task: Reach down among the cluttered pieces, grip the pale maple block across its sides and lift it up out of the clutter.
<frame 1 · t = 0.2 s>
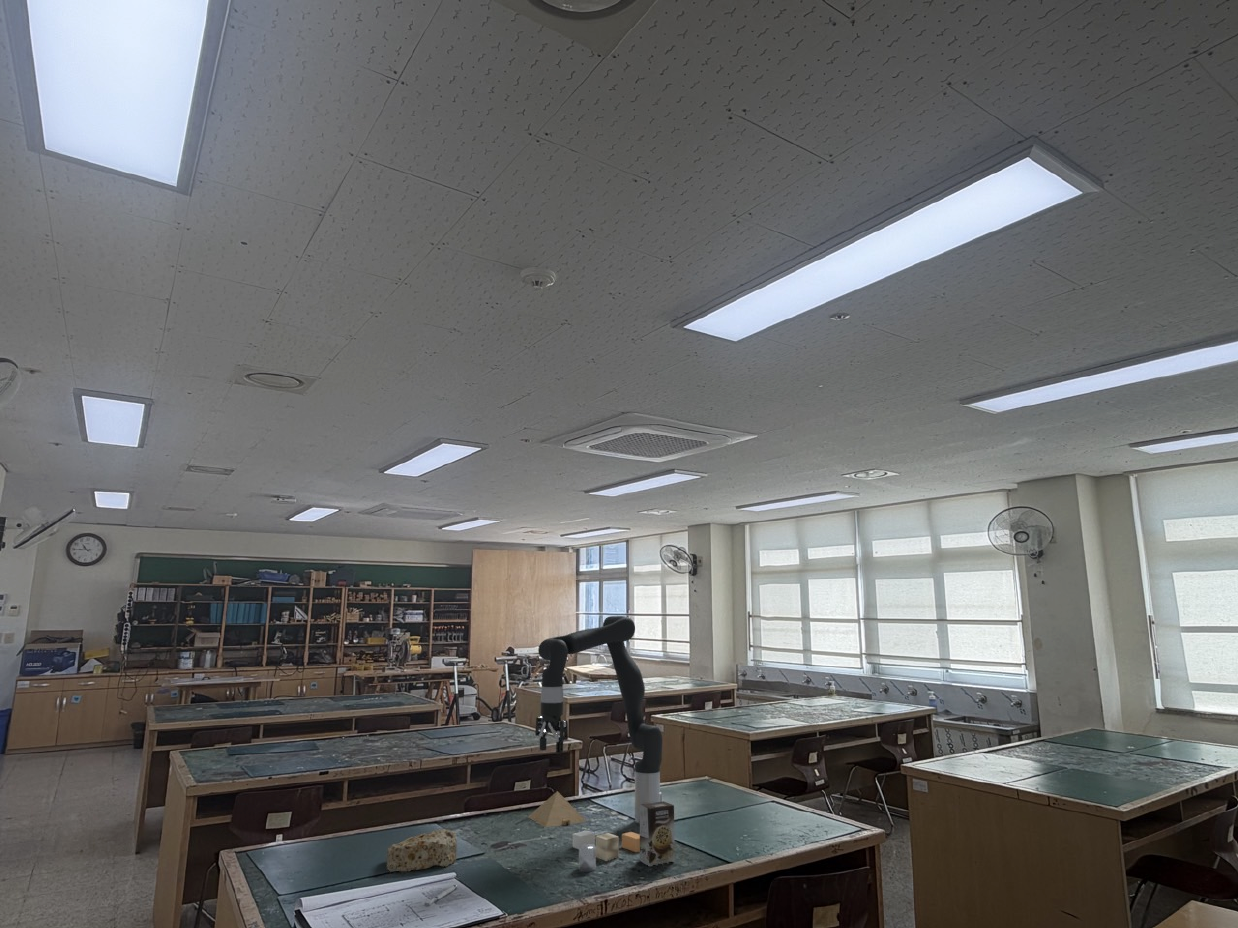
hand: (551, 751, 231), 29 cm above the table, tool pointing down, fingers open, 8 cm apart
rock: (421, 864, 210), on the table
model pyramid: (557, 820, 257), on the table
coffee box: (657, 862, 212), on the table
maple block: (607, 857, 216), on the table
off-white plastic block: (583, 846, 226), on the table
brushed metal cylinder: (587, 868, 206), on the table
orange plastic block: (633, 848, 224), on the table
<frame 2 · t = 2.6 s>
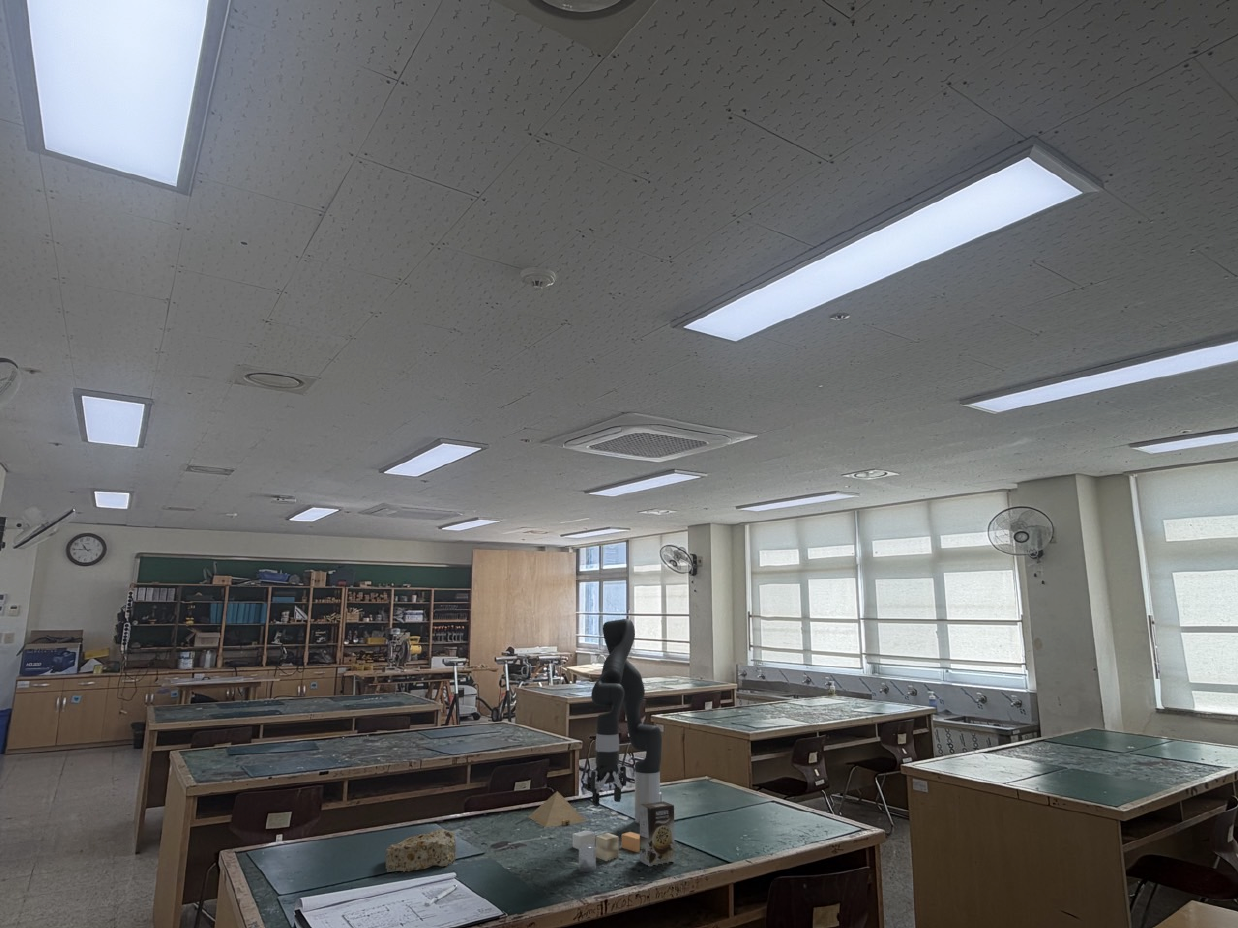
hand: (606, 803, 219), 15 cm above the table, tool pointing down, fingers open, 8 cm apart
nothing on the table moved.
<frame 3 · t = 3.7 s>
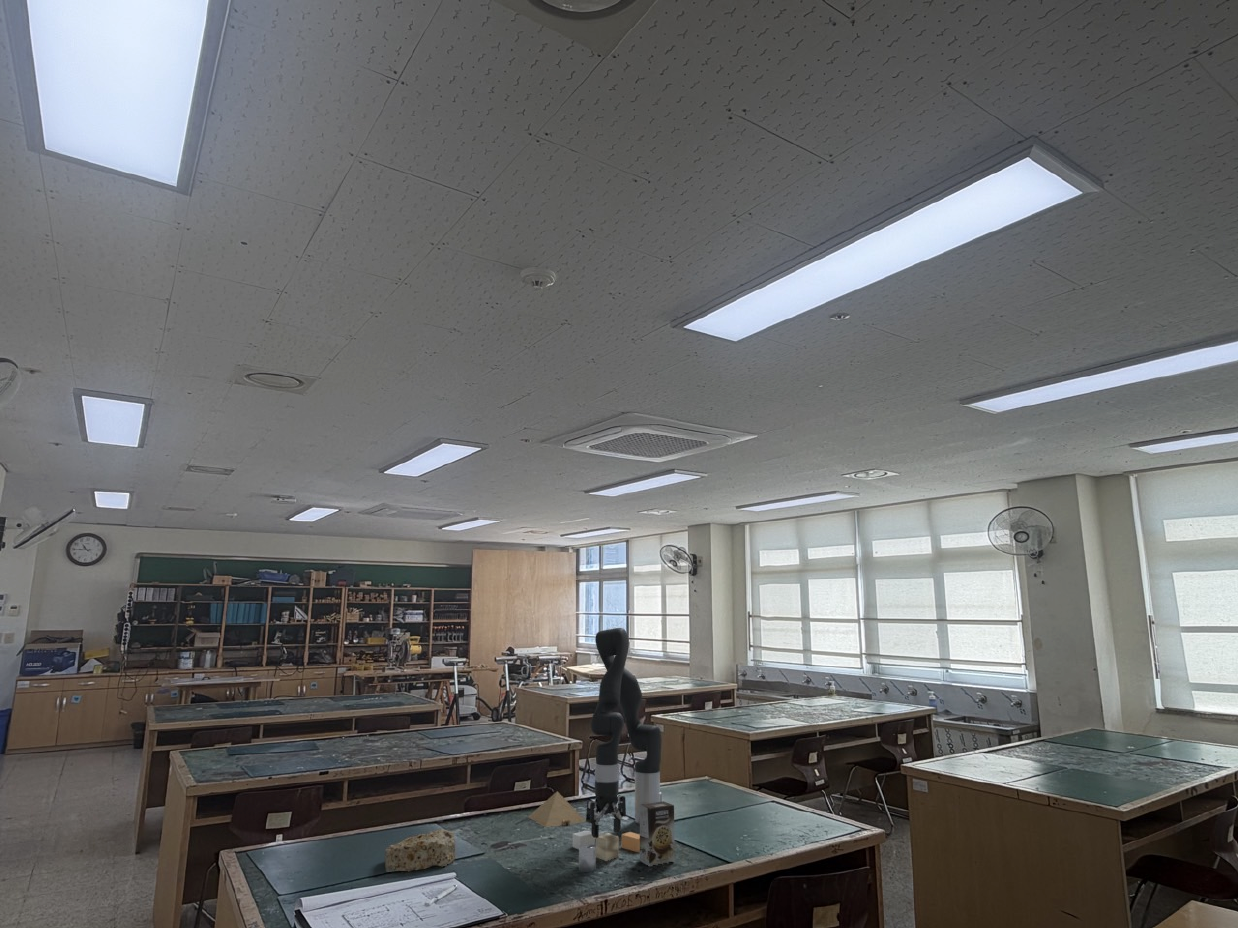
hand: (606, 834, 217), 6 cm above the table, tool pointing down, fingers open, 8 cm apart
nothing on the table moved.
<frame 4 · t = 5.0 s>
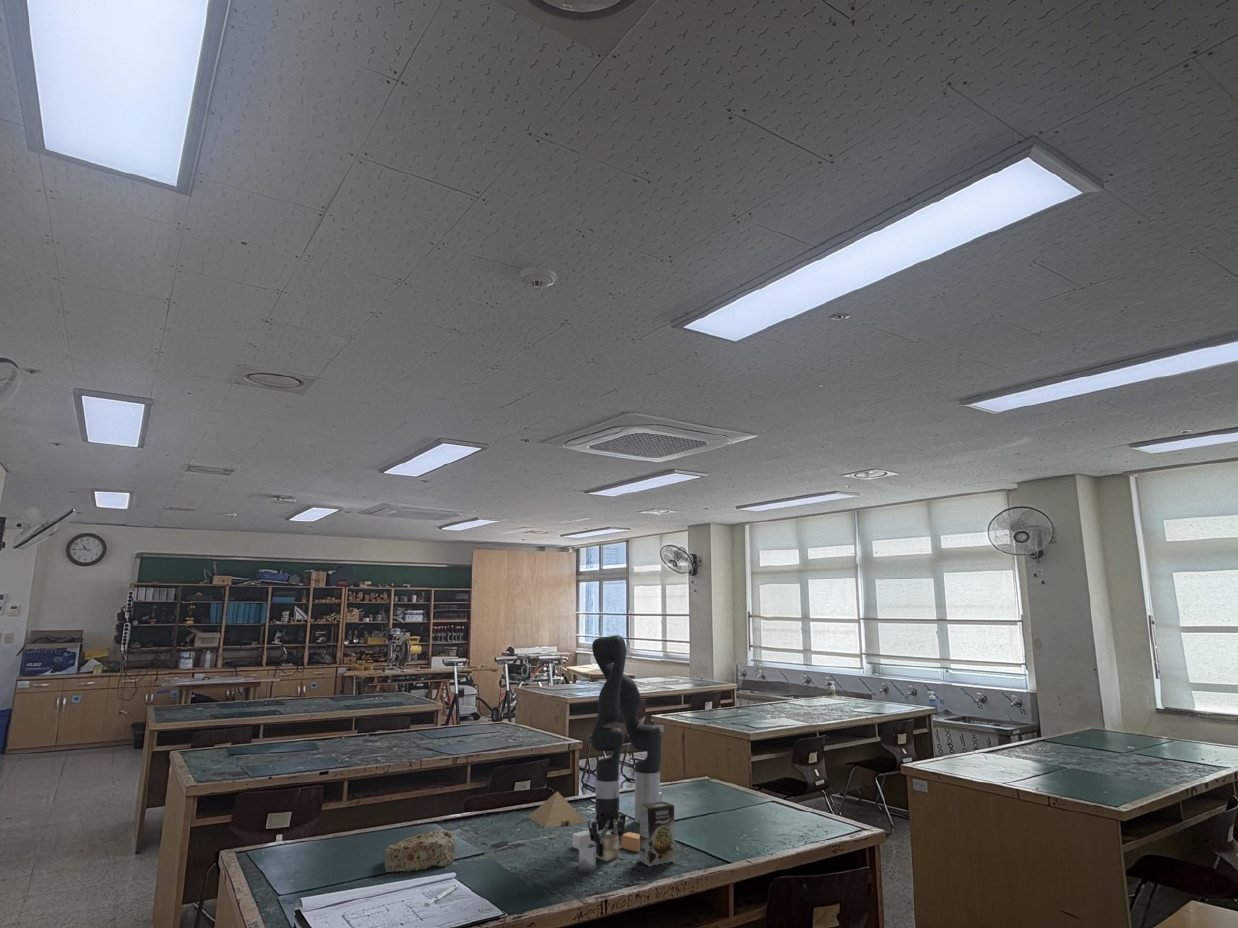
hand: (607, 853, 216), 1 cm above the table, tool pointing down, fingers closed on maple block, 5 cm apart
maple block: (607, 857, 216), on the table, touching gripper
everything else where it was.
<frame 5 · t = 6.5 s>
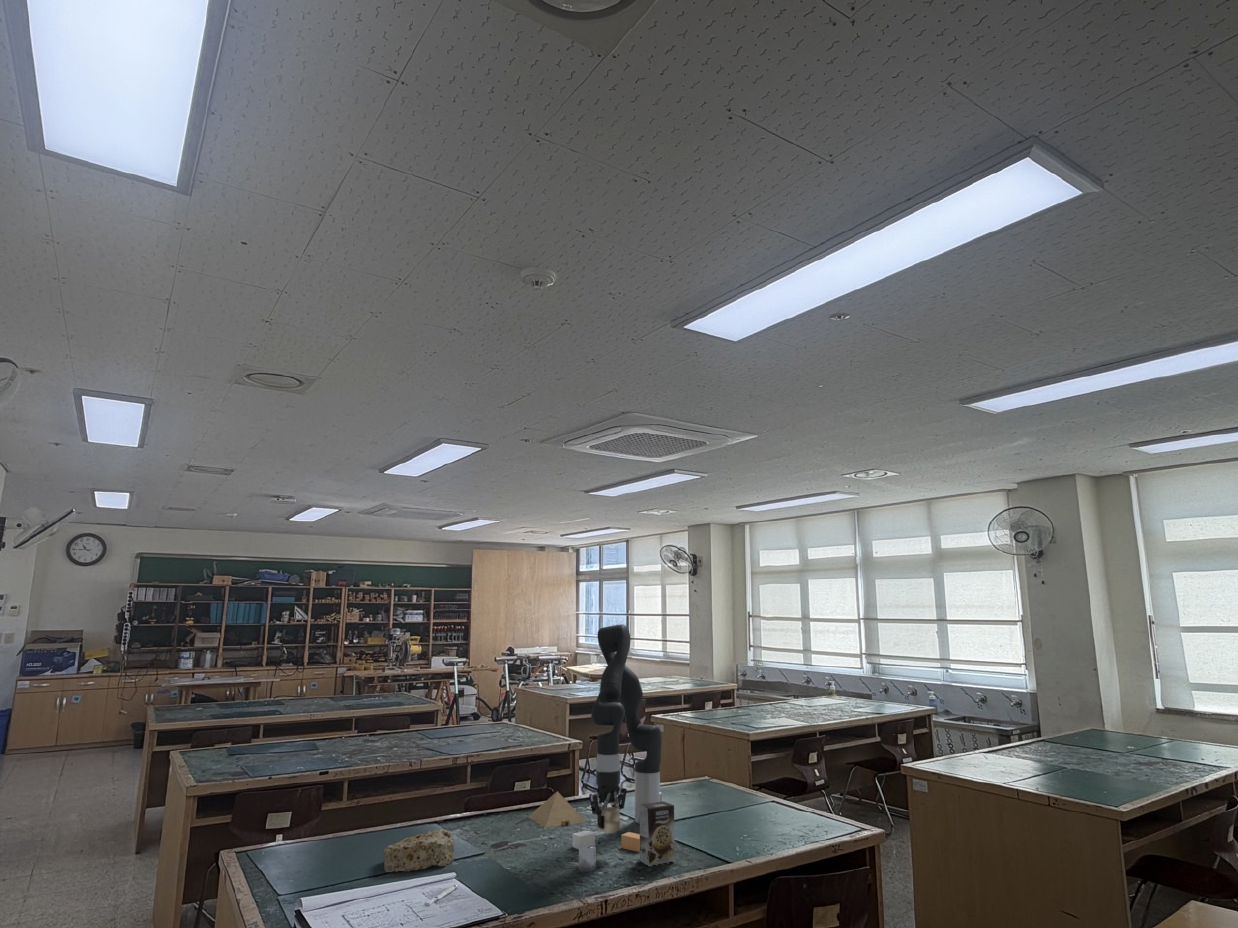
hand: (608, 826, 218), 9 cm above the table, tool pointing down, fingers closed on maple block, 5 cm apart
maple block: (608, 829, 218), point 8 cm above the table, touching gripper
everything else where it was.
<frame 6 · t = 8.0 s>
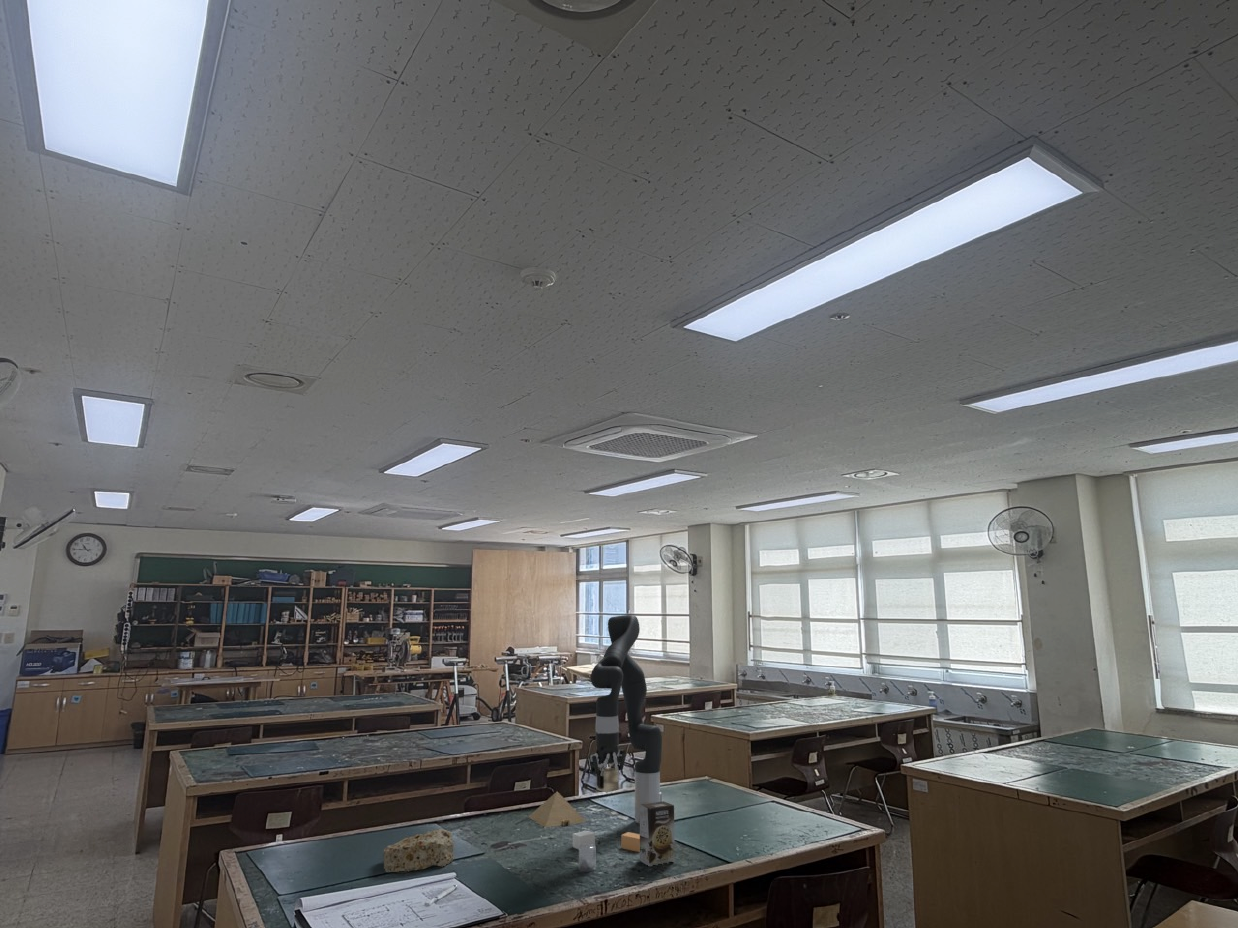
hand: (607, 786, 223), 20 cm above the table, tool pointing down, fingers closed on maple block, 5 cm apart
maple block: (607, 789, 222), point 19 cm above the table, touching gripper
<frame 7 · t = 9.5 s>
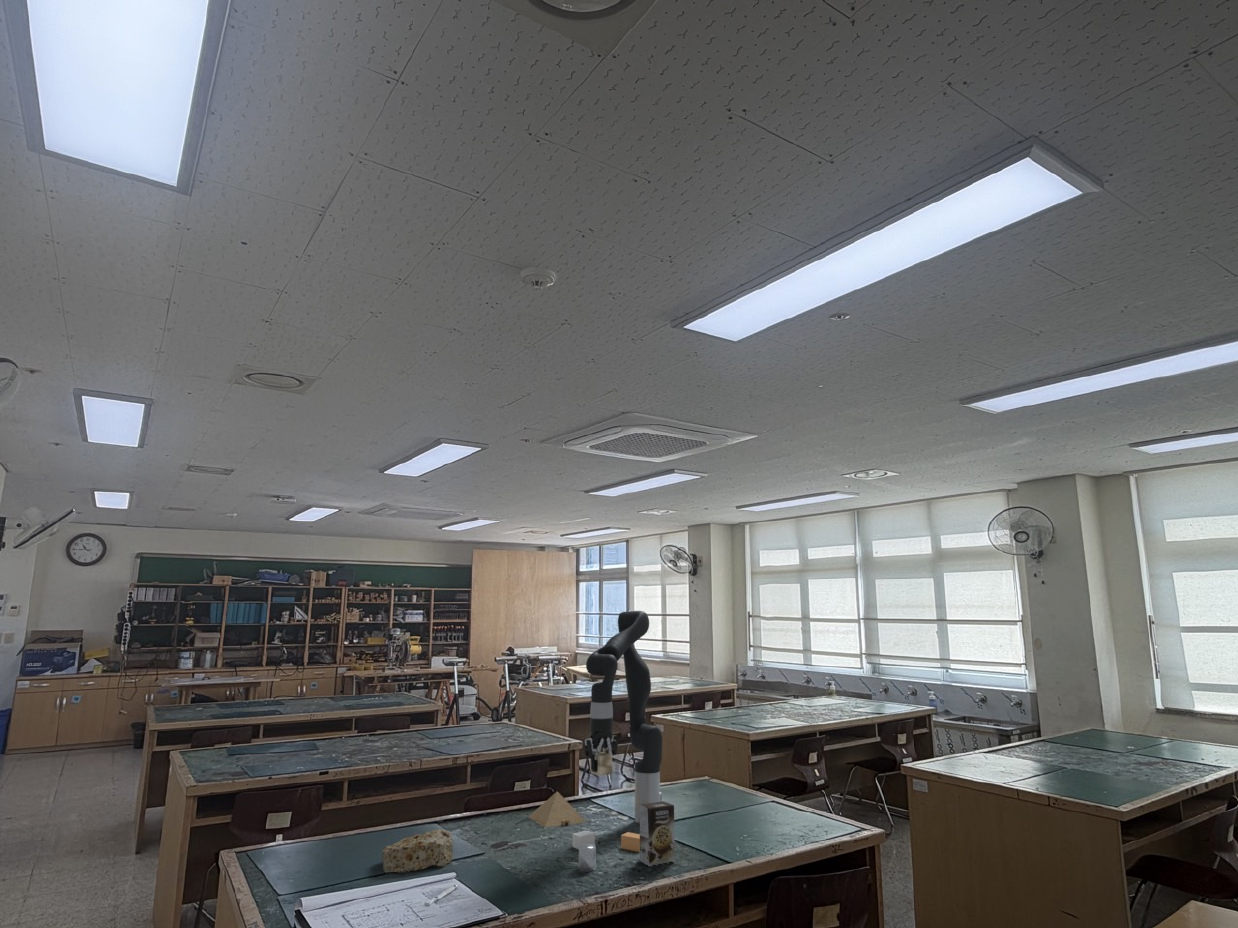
hand: (601, 770, 230), 23 cm above the table, tool pointing down, fingers closed on maple block, 5 cm apart
maple block: (601, 773, 229), point 22 cm above the table, touching gripper
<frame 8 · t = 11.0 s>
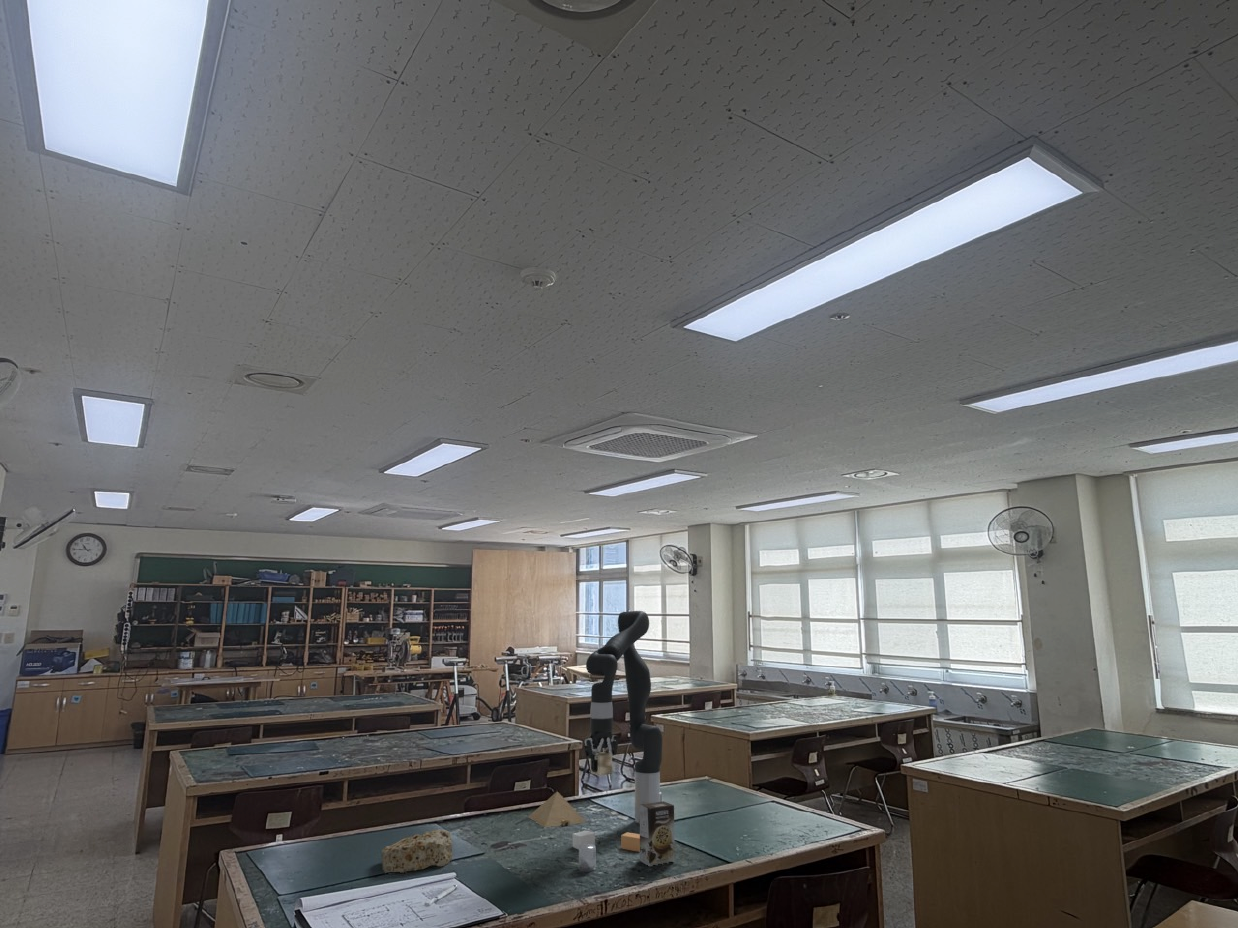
hand: (601, 770, 230), 23 cm above the table, tool pointing down, fingers closed on maple block, 5 cm apart
maple block: (601, 773, 229), point 22 cm above the table, touching gripper
at the end: the gripper is holding maple block; maple block point 22.4 cm above the table; coffee box moved 0.2 cm from its start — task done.
